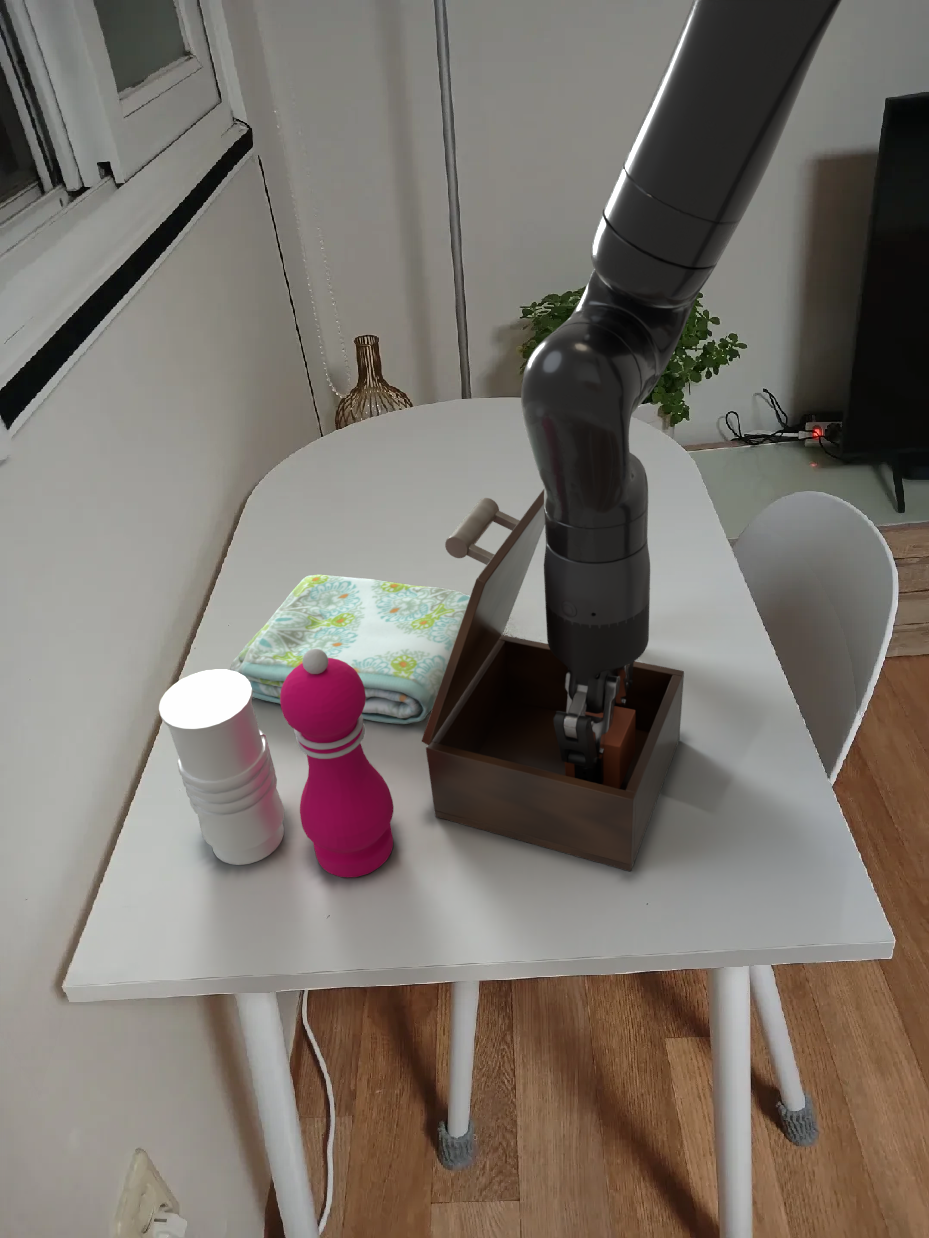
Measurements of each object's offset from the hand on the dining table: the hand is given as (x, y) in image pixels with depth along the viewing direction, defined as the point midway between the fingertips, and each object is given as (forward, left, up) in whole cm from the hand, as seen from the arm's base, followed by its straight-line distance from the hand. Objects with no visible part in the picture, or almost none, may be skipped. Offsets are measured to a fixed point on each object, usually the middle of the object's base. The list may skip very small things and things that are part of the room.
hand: (599, 762), depth 78 cm
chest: (+3, 0, -3) cm, 4 cm away
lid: (+8, 0, +13) cm, 16 cm away
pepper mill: (+16, +13, -3) cm, 21 cm away
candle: (+25, +15, -3) cm, 30 cm away
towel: (+27, -9, -3) cm, 29 cm away
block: (0, 0, 0) cm, 0 cm away
